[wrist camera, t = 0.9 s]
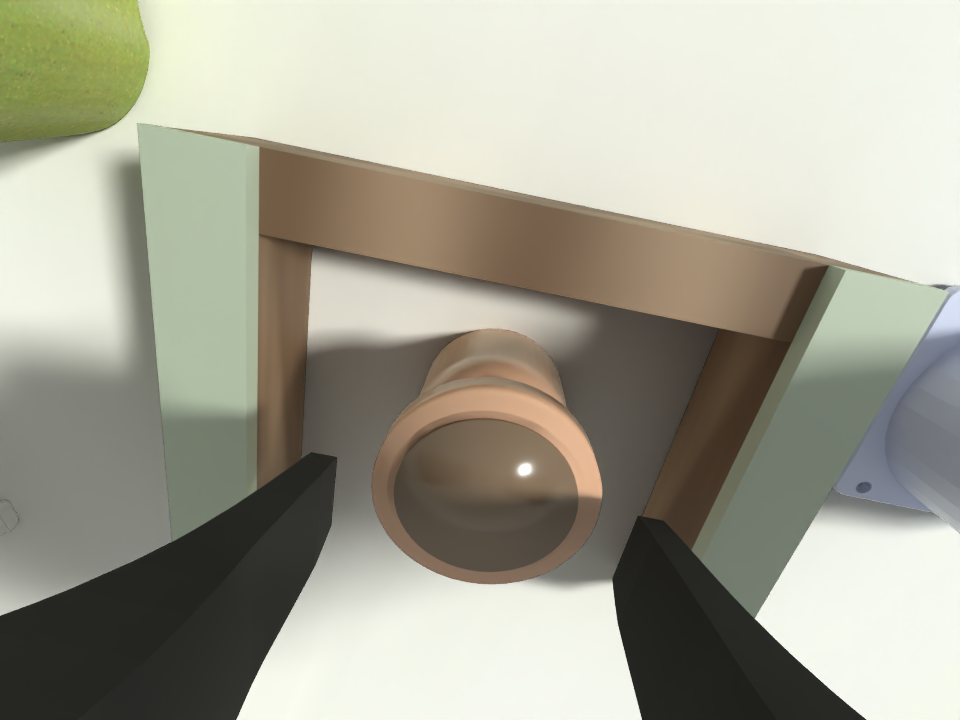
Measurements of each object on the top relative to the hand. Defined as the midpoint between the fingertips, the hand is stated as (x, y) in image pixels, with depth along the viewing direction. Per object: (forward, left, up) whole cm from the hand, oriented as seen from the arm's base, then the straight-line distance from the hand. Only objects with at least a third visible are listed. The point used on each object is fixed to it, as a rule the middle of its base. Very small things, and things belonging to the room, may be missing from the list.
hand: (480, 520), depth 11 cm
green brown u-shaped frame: (0, 0, -7) cm, 7 cm away
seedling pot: (0, 0, -7) cm, 7 cm away
